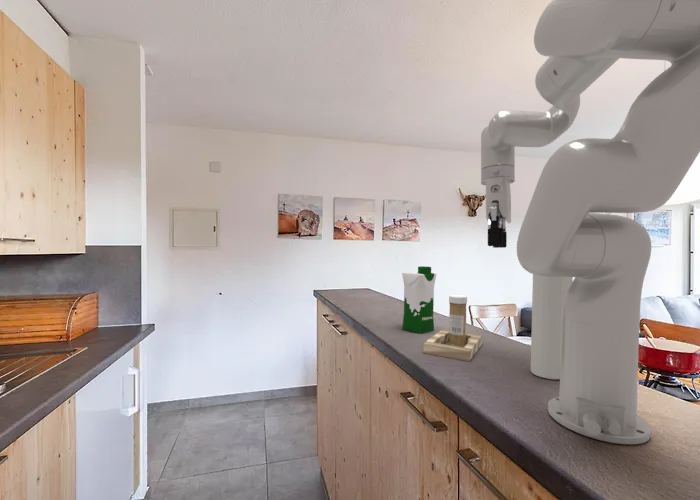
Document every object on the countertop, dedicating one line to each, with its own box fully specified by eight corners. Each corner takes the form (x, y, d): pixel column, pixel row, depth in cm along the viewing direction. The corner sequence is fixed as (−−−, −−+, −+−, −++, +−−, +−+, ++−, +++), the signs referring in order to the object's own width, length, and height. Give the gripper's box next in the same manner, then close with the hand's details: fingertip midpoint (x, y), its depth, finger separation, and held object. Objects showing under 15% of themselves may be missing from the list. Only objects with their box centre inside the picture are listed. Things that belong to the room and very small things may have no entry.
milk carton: (420, 335, 100) (421, 267, 100) (397, 328, 107) (398, 266, 107) (438, 330, 106) (439, 266, 106) (415, 324, 113) (416, 265, 113)
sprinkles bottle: (469, 345, 90) (470, 295, 90) (461, 349, 87) (461, 297, 87) (453, 342, 93) (454, 293, 93) (445, 345, 90) (445, 295, 90)
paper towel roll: (529, 376, 69) (532, 272, 69) (531, 367, 75) (533, 270, 74) (571, 384, 66) (574, 274, 65) (570, 374, 71) (572, 272, 71)
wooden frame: (469, 361, 78) (469, 351, 78) (423, 352, 84) (423, 343, 84) (481, 344, 92) (482, 335, 92) (441, 338, 97) (441, 329, 97)
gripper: (512, 166, 73) (512, 245, 73) (516, 182, 88) (516, 248, 88) (475, 170, 77) (475, 245, 76) (485, 185, 92) (485, 248, 91)
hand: (497, 246), depth 82 cm, fingers open, 9 cm apart
